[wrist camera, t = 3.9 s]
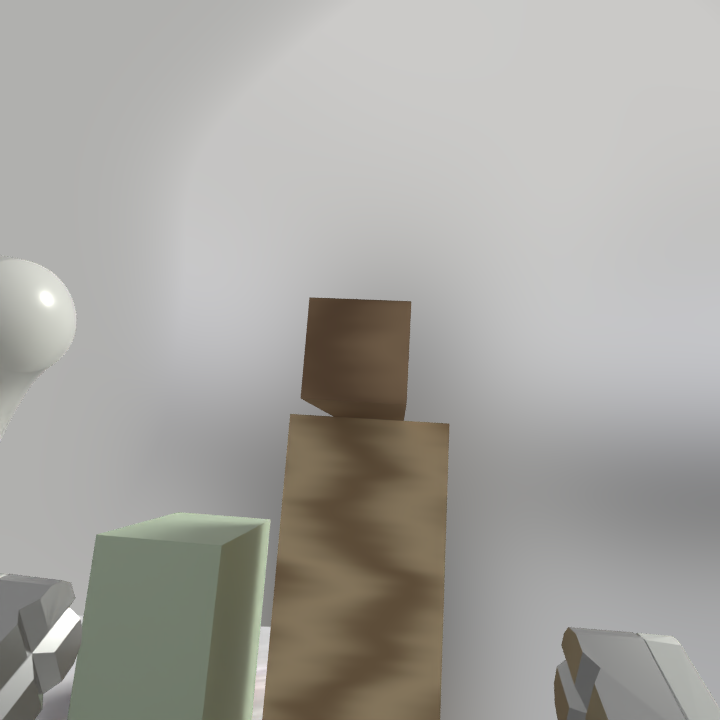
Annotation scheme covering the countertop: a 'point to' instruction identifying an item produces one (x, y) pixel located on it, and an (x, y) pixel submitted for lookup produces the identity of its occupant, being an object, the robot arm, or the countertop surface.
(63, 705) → the countertop surface
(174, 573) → the block
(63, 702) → the countertop surface
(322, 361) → the batten
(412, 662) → the stand
